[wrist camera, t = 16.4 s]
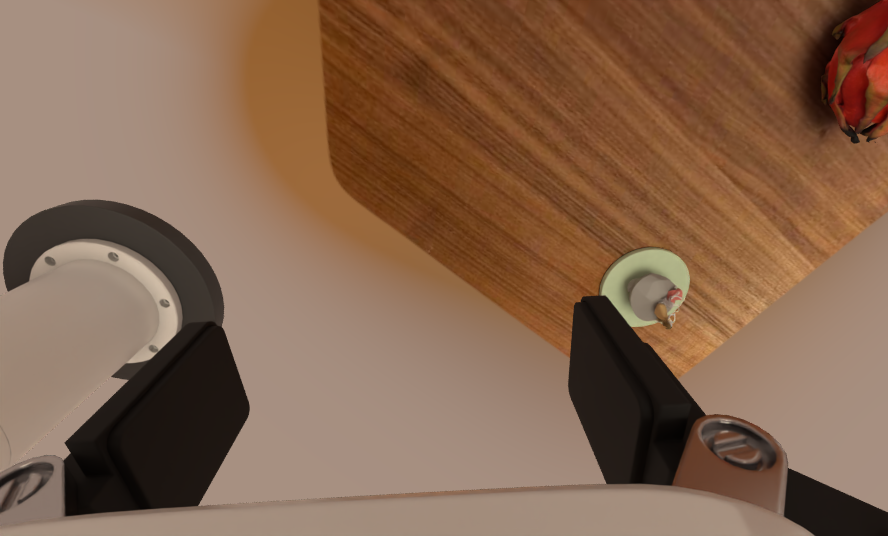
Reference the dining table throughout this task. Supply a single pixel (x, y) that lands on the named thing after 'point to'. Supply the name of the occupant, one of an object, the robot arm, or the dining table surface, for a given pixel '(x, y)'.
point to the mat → (636, 267)
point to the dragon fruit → (860, 74)
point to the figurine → (654, 298)
